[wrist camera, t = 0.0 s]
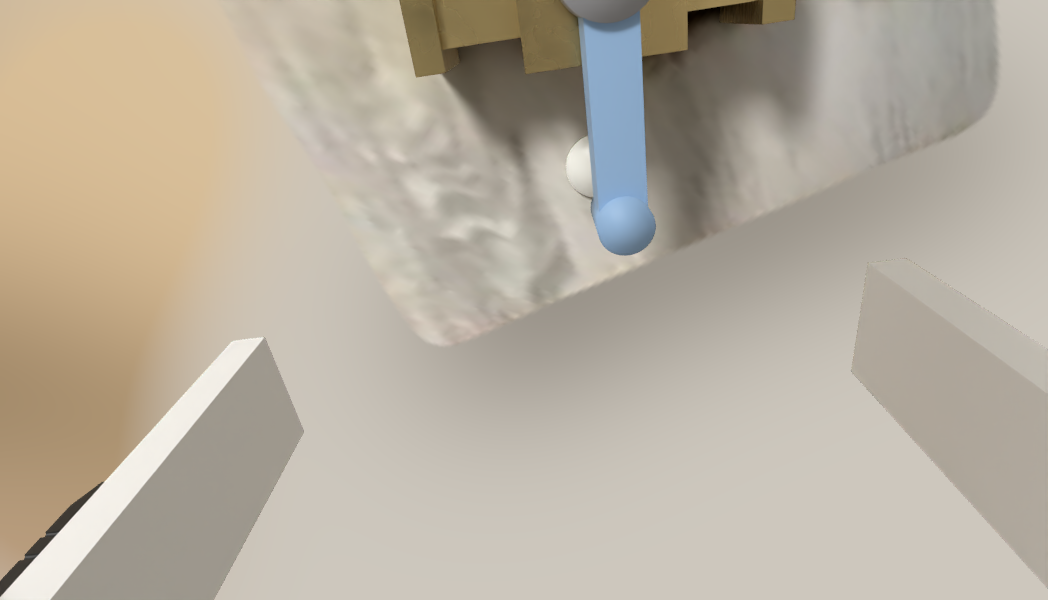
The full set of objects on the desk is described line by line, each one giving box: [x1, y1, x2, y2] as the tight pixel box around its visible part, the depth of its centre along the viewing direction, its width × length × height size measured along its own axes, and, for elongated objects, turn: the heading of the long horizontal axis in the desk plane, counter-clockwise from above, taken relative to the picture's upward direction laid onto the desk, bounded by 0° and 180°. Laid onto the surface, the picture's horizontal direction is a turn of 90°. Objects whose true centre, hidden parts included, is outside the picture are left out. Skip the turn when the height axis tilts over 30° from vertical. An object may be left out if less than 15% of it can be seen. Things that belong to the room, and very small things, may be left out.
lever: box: [560, 0, 656, 255], centre depth 26 cm, size 15×4×4 cm, turn 8°
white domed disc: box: [566, 135, 593, 197], centre depth 38 cm, size 4×4×1 cm
